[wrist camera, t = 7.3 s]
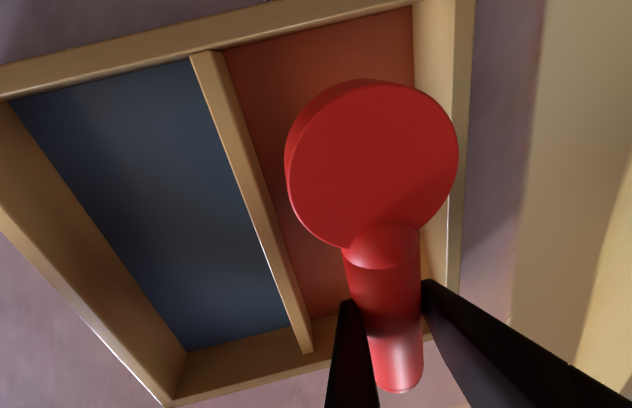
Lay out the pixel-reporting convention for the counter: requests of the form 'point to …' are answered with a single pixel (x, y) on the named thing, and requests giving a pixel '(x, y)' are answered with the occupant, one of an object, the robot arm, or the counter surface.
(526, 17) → the counter surface
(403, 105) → the red spoon
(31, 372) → the counter surface
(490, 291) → the counter surface
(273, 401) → the counter surface
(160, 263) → the cutlery tray
